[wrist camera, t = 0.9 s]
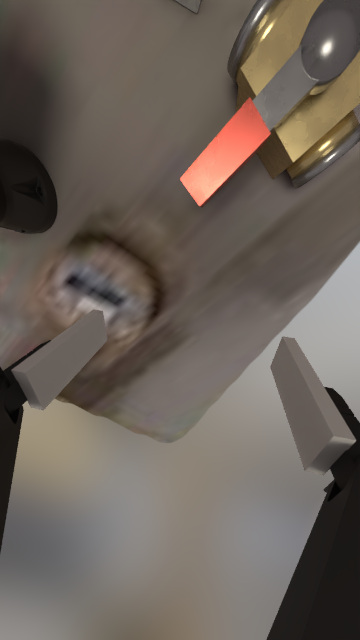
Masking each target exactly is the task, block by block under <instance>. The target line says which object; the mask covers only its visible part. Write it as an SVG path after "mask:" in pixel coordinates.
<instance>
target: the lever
mask: <svg viewBox="0 0 360 640" xmlns="http://www.w3.org/2000/svg"><path fill="white" fill-rule="evenodd" d="M359 51H360V0H323V2H322V3H321V4H320V5H319V6H318V8H317V9H316V11H315V12H314V14H313V16H312V17H311V19H310V21H309V23H308V26H307V28H306V30H305V33H304V35H303V37H302V40H301V42H300V44H299V46H298V49H297V50H296V51H295V52H294V54H293V55H292V56H291V57H290V58H289V59H288V60H287V62H286V63H285V64H284V65H283V66H282V67H281V69H280V70H279V71H278V72H277V73H276V74H275V75H274V77H273V78H272V79H271V80H270V81H269V82H268V84H267V85H266V86H265V87H264V88H263V89H262V90H261V92H260V93H259V94H258V95H257V96H256V97H255V99H254V100H253V101H252V99H251V98H250V97H249V98H248V100H247V101H246V102H245V103H244V104H243V106H242V107H241V108H240V109H239V110H238V111H237V113H236V114H235V115H234V116H233V117H232V118H231V120H230V121H229V122H228V123H227V124H226V125H225V127H224V128H223V129H222V130H221V131H220V132H219V134H218V135H217V136H216V137H215V138H214V140H213V141H212V142H211V143H210V144H209V145H208V147H207V148H206V149H205V150H204V151H203V152H202V154H201V155H200V156H199V157H198V158H197V159H196V161H195V162H194V163H193V164H192V165H191V167H190V168H189V169H188V170H187V171H186V172H185V174H184V175H183V176H182V177H181V178H180V180H181V182H182V183H183V184H184V186H185V187H186V188H187V190H188V191H189V192H190V194H191V195H192V197H193V198H194V199H195V201H196V202H197V203H198V205H199V206H200V207H203V206H204V205H205V204H206V203H207V202H208V201H209V200H210V199H211V198H212V197H213V196H214V195H215V194H216V193H217V192H218V191H219V190H220V189H221V188H222V187H223V186H224V185H225V184H226V183H227V182H228V181H229V180H230V179H231V178H232V177H233V176H234V175H235V174H236V173H237V172H238V171H239V170H240V169H241V168H242V167H243V166H244V165H245V164H246V163H247V162H248V161H249V160H250V159H251V158H252V157H253V156H254V155H255V154H256V153H257V152H258V151H259V150H260V149H261V148H262V147H263V146H264V145H265V144H266V142H267V140H268V138H269V137H270V135H271V133H272V132H273V131H274V130H275V129H276V128H277V127H278V126H279V125H280V124H281V123H282V122H283V121H284V120H285V119H286V118H287V117H288V116H289V115H290V114H291V113H292V112H293V110H294V109H295V108H296V107H297V106H298V105H299V104H300V103H301V102H302V101H303V100H304V99H305V98H306V97H307V96H308V95H315V94H319V93H321V92H323V91H325V90H326V89H328V88H329V87H330V86H331V85H332V84H334V82H335V81H336V80H337V79H338V78H339V77H340V75H341V74H342V73H343V72H344V71H345V69H346V68H347V67H348V66H349V64H350V63H351V62H352V61H353V59H354V58H355V57H356V55H357V54H358V52H359Z"/></svg>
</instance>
